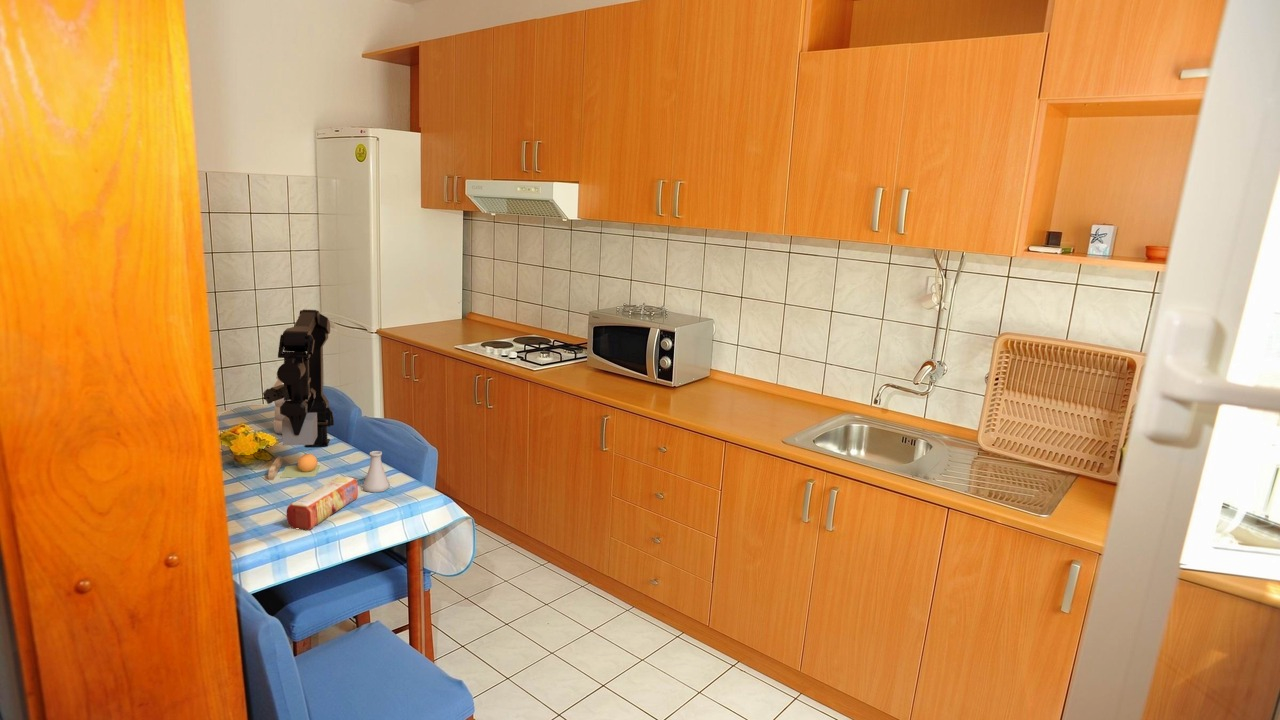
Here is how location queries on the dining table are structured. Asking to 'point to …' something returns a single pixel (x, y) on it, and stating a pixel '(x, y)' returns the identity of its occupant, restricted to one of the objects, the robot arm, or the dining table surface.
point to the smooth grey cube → (306, 433)
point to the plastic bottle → (278, 411)
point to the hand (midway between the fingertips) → (299, 430)
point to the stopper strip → (274, 468)
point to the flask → (376, 475)
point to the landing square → (298, 472)
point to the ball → (307, 462)
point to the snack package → (322, 503)
